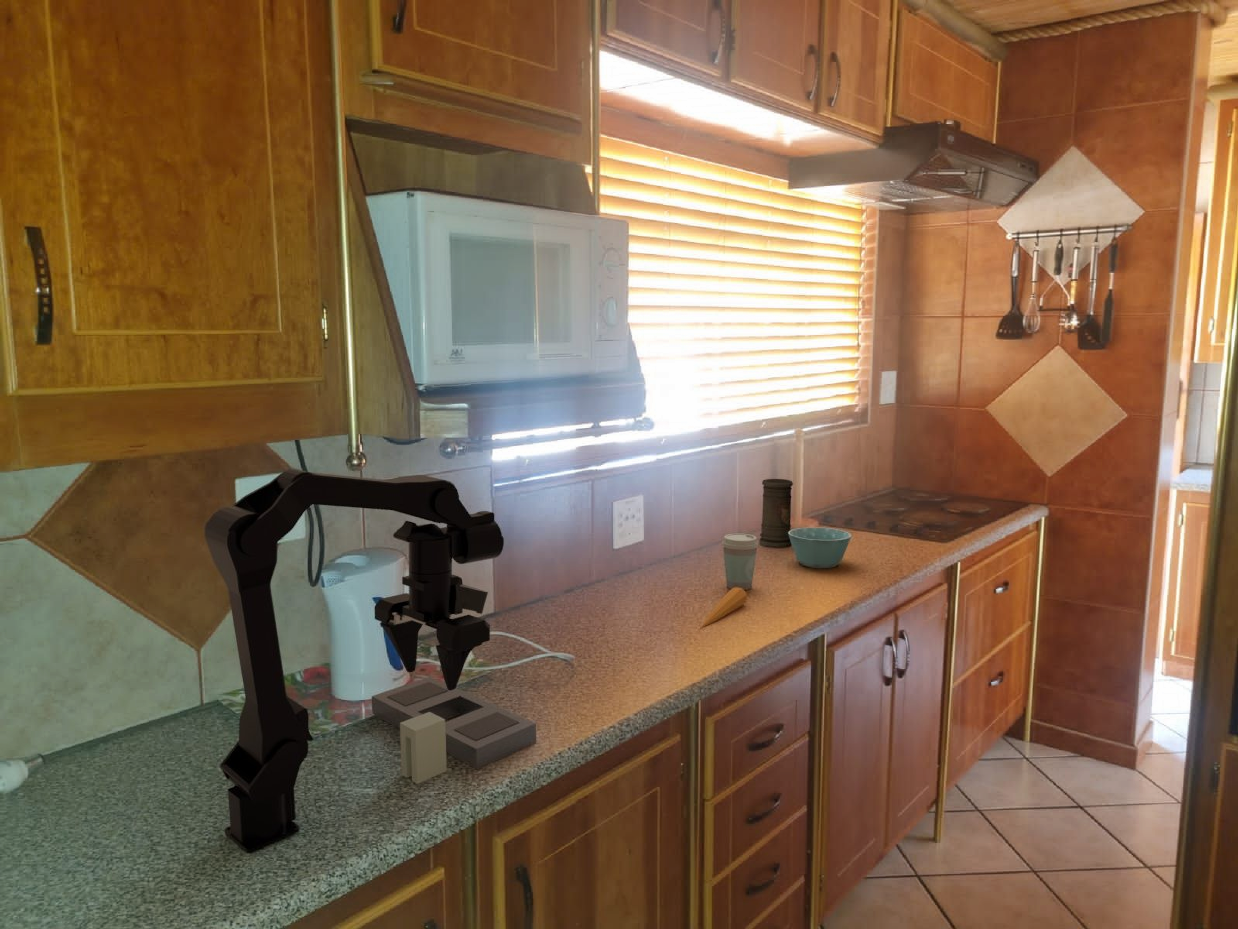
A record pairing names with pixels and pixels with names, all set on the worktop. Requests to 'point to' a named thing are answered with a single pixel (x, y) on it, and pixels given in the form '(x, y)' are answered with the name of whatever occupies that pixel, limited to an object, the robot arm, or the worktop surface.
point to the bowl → (819, 546)
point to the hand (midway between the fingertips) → (430, 680)
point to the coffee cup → (739, 559)
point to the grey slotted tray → (458, 720)
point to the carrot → (727, 605)
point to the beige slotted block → (423, 747)
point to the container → (776, 513)
